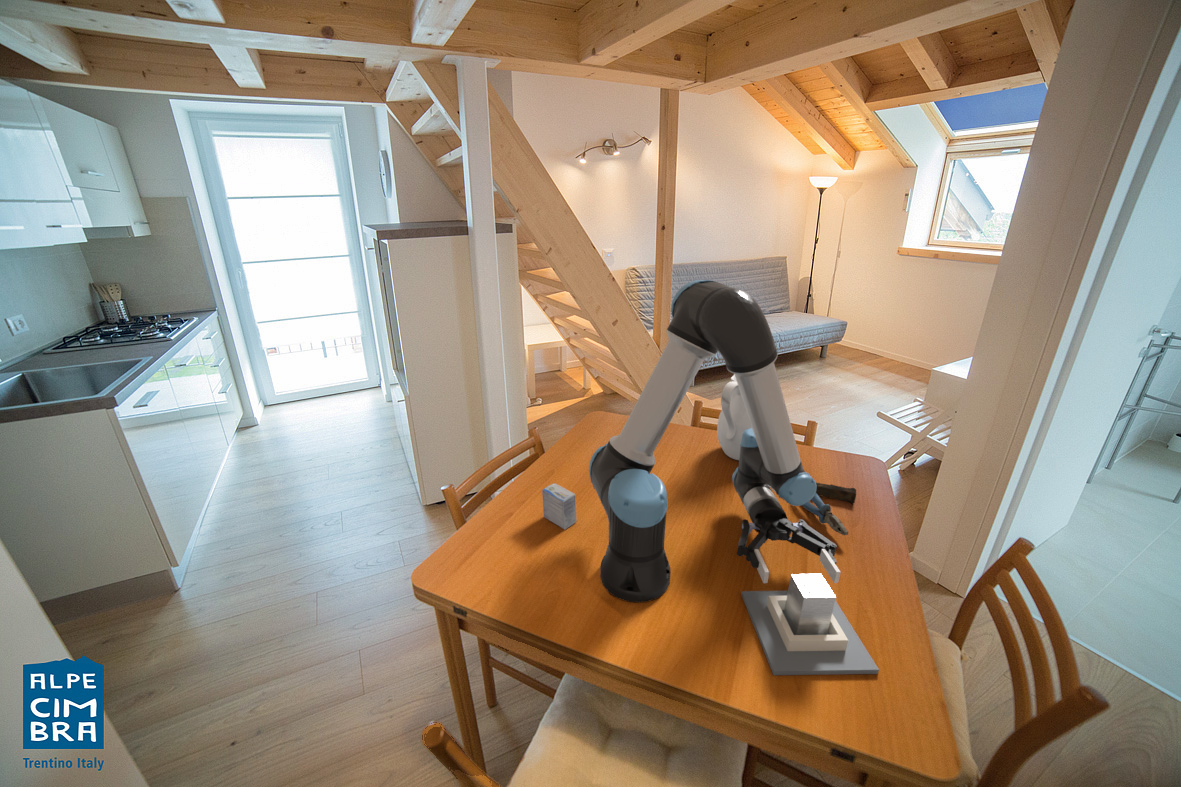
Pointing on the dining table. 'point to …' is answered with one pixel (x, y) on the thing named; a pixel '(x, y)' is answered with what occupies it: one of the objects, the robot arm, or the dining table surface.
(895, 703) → the dining table surface
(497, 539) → the dining table surface
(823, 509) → the pliers
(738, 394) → the pitcher
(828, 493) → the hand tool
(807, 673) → the cradle
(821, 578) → the tall square post
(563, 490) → the medicine box
